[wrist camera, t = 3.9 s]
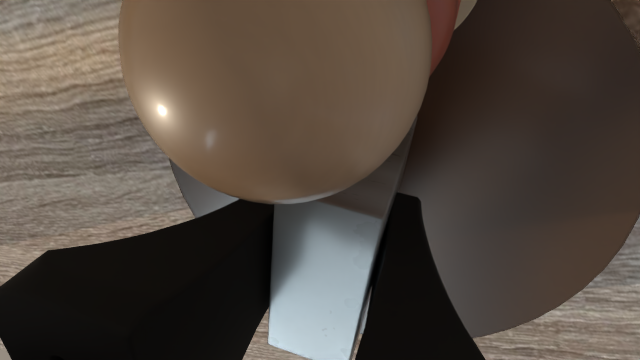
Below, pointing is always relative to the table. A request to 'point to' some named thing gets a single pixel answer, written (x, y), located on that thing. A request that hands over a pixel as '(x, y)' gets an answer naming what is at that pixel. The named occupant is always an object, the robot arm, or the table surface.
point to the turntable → (400, 143)
